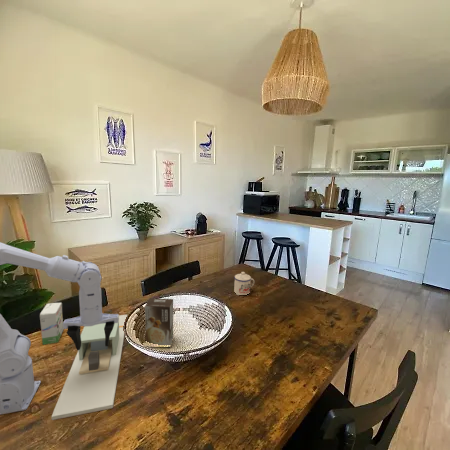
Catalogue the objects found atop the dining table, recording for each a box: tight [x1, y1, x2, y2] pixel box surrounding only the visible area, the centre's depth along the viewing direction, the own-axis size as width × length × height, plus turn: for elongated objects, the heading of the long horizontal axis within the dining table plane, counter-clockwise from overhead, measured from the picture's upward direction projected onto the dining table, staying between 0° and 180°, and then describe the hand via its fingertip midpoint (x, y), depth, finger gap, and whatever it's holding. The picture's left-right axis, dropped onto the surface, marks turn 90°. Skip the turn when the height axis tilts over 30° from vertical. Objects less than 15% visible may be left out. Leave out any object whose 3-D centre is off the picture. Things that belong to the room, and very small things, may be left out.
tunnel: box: [79, 320, 119, 360], centre depth 88 cm, size 10×11×8 cm
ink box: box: [39, 302, 65, 345], centre depth 94 cm, size 8×5×12 cm, turn 19°
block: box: [91, 340, 108, 351], centre depth 88 cm, size 5×5×4 cm
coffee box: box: [144, 297, 174, 346], centre depth 93 cm, size 9×6×16 cm
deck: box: [51, 314, 128, 421], centre depth 87 cm, size 46×14×1 cm, turn 16°
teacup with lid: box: [233, 271, 255, 296], centre depth 138 cm, size 12×9×12 cm
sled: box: [79, 339, 113, 374], centre depth 88 cm, size 24×8×5 cm, turn 16°
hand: (93, 346), depth 77 cm, fingers open, 7 cm apart
